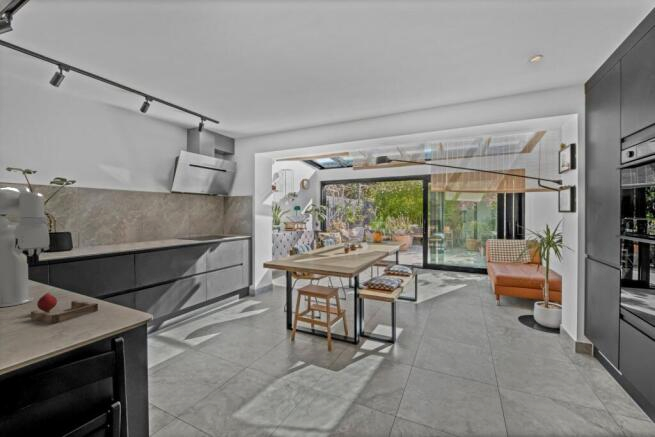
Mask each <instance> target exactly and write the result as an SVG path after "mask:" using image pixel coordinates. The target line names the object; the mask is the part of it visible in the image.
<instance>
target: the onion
mask: <svg viewBox="0 0 655 437" xmlns="http://www.w3.org/2000/svg"><path fill="white" fill-rule="evenodd" d="M57 303H58V299H57V298H56V296H54V295H52V294H50V292H46V293H45V294H44V295H43V296H41V297H40V298H39V299H38V301H37V303H36V305H37V308H38V309H39V311H42V312H48V313H50V311H51V310H53V309H54V308H55V307H56V306H57Z"/></svg>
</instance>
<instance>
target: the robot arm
mask: <svg viewBox="0 0 655 437" xmlns="http://www.w3.org/2000/svg"><path fill="white" fill-rule="evenodd" d="M3 215H18V216H19V218H18V221H19V222H17V221H16V222H15V221H9V219H8V218H6V217H5V216H3ZM48 222H49V219H48V218H46V217H45V196H44V194H43V193H41V192H31V190H30V188H29V187H28V186H26V185H24V184H11V183H9V184H8V183H0V308H4V307H12V306H13V307H14V306H19V305H23V304H27V303H30V302H32V301H34V297H33V296H29V266H37V265H39V262H40V257H39V256H40V255H41V254H42V253H43V252H44V251H47V250H50V234H49V229H48V225H47V224H46V223H48ZM21 255H24V256H26V259H25V258H23V257H22V256H21Z"/></svg>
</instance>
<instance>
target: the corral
mask: <svg viewBox="0 0 655 437" xmlns="http://www.w3.org/2000/svg"><path fill="white" fill-rule="evenodd" d="M70 303H71V306H70V307H71V309H70V310H66V311H63V312H59V313H52V312H45V311H43V310H32V311H30V320H31V321H32V320H33V321H38V322H43V323H49V324H54V325H55V324H59V323H62V322H65V321H68V320H69V321H70V320H73V319H76V318H78V317H82V316H85V315H89V314H92V313H96V312H99V304H98V303H95V302H88V301H81V300H72V301H70ZM72 308H73V309H72Z"/></svg>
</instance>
